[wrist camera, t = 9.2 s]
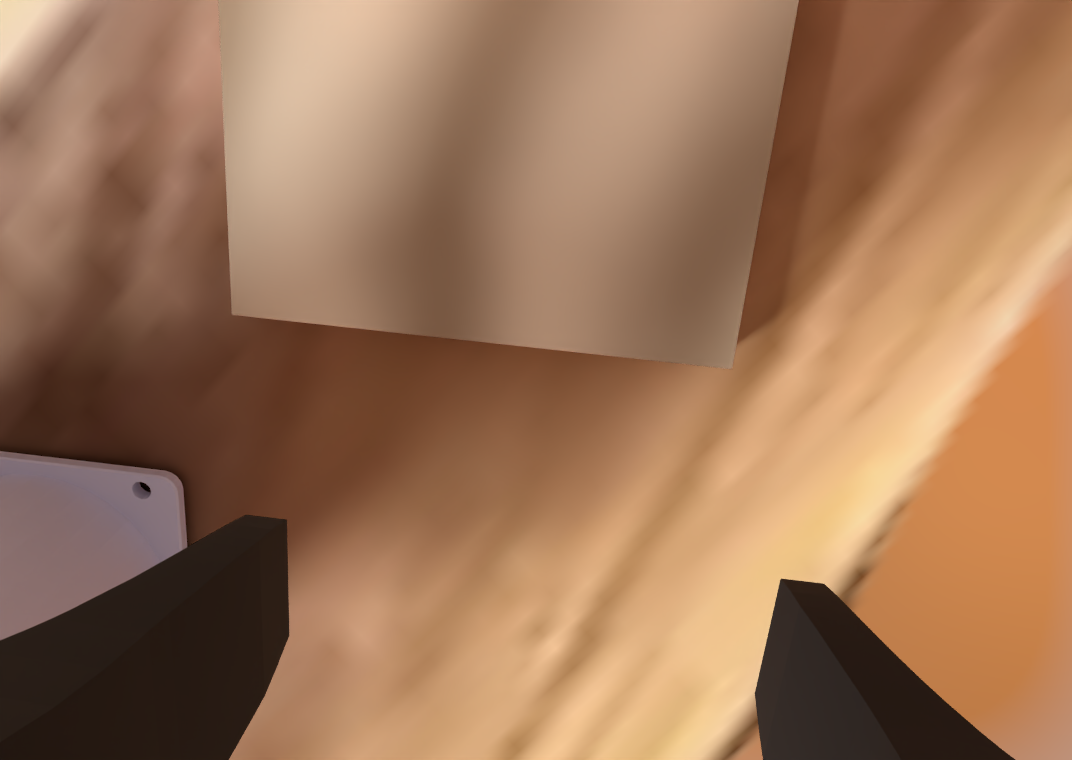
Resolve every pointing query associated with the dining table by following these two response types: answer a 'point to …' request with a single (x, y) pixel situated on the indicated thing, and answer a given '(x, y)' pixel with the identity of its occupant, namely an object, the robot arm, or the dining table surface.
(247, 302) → the thin beige base plate
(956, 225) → the dining table surface
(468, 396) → the dining table surface
